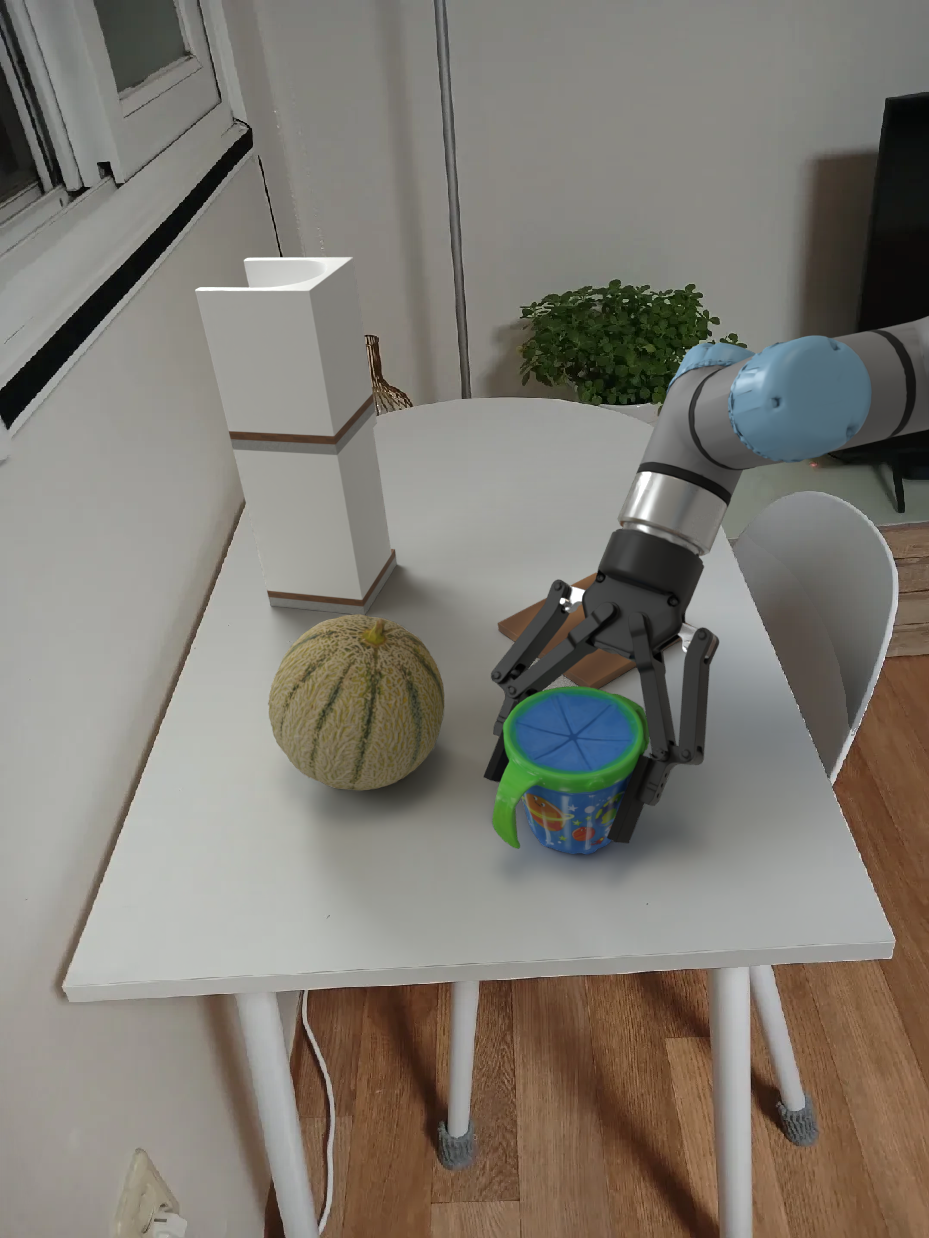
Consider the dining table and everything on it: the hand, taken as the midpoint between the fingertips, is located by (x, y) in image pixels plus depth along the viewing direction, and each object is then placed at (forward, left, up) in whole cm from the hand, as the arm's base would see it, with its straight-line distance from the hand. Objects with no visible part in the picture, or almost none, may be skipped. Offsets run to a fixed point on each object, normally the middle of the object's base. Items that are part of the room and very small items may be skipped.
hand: (553, 809), depth 73 cm
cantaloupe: (+18, +6, -4) cm, 19 cm away
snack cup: (+1, -3, -4) cm, 5 cm away
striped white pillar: (+46, -7, -4) cm, 46 cm away
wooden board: (+19, -22, -4) cm, 29 cm away
